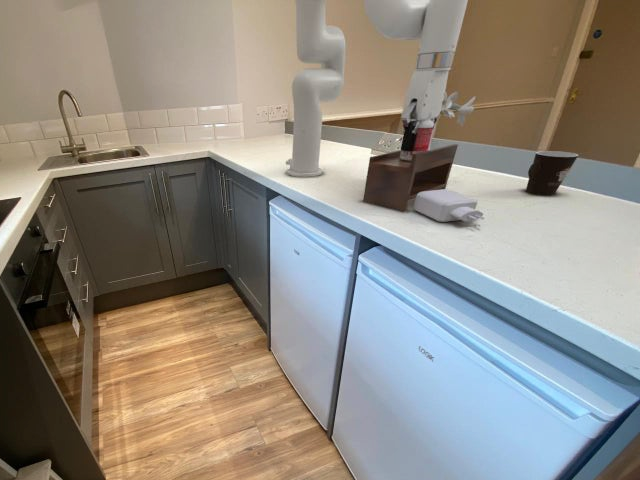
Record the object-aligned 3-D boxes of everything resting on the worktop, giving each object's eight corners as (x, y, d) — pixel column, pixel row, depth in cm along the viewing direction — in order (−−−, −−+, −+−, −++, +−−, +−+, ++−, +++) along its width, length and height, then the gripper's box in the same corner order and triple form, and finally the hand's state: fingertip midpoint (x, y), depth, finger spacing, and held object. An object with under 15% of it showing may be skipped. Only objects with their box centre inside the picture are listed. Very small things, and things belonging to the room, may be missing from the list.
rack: (362, 201, 92) (371, 149, 85) (403, 188, 102) (413, 140, 95) (403, 211, 84) (416, 154, 77) (443, 195, 94) (458, 144, 87)
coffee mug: (546, 188, 97) (563, 150, 91) (567, 196, 90) (587, 156, 84) (502, 188, 98) (516, 151, 93) (520, 197, 91) (536, 157, 85)
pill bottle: (429, 158, 88) (441, 110, 82) (419, 162, 84) (431, 112, 78) (405, 156, 92) (415, 109, 86) (395, 159, 88) (404, 111, 82)
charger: (457, 232, 72) (412, 211, 84) (494, 227, 73) (444, 207, 86) (464, 210, 69) (417, 191, 82) (502, 206, 71) (450, 188, 83)
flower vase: (457, 185, 102) (487, 88, 89) (396, 187, 103) (417, 91, 89) (436, 176, 113) (460, 88, 100) (381, 177, 114) (397, 90, 100)
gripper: (436, 64, 84) (418, 143, 93) (396, 64, 75) (381, 151, 85) (468, 62, 79) (445, 146, 88) (430, 62, 70) (409, 155, 80)
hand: (414, 148), depth 86 cm, fingers closed on pill bottle, 6 cm apart
